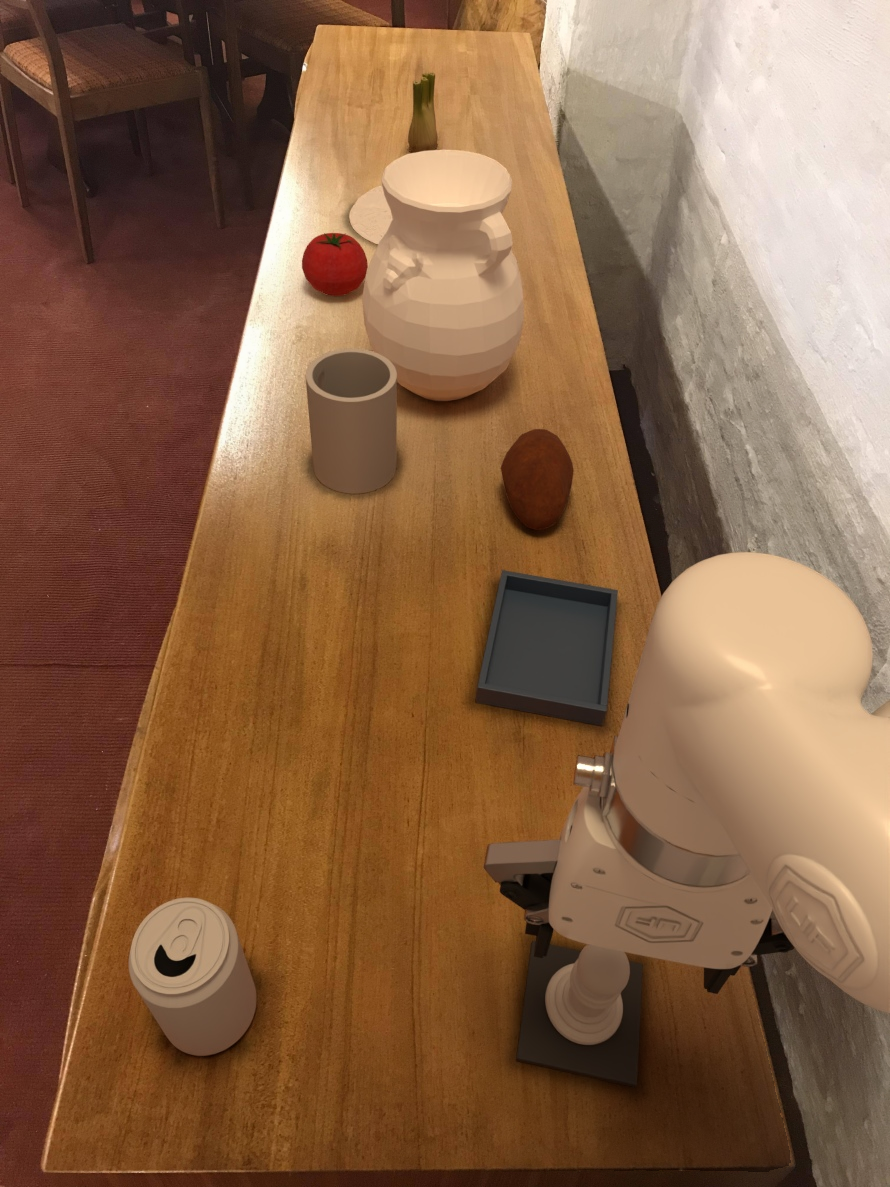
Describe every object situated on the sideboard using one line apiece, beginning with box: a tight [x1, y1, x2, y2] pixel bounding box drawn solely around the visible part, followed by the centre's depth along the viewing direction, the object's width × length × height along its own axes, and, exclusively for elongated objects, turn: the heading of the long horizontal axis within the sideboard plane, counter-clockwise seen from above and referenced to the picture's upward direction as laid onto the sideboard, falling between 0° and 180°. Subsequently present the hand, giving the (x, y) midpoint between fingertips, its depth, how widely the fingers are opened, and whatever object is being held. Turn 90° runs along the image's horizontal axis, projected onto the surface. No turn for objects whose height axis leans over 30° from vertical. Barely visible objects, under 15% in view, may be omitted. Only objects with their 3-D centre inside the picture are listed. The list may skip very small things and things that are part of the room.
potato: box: [500, 428, 574, 531], centre depth 94 cm, size 8×12×8 cm, turn 179°
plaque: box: [348, 184, 393, 245], centre depth 138 cm, size 20×20×2 cm
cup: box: [305, 347, 398, 495], centre depth 95 cm, size 9×9×12 cm
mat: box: [515, 940, 644, 1088], centre depth 62 cm, size 8×8×1 cm
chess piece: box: [545, 944, 630, 1045], centre depth 59 cm, size 5×5×9 cm
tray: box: [475, 569, 619, 727], centre depth 82 cm, size 14×11×2 cm
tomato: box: [301, 232, 369, 297], centre depth 120 cm, size 9×9×8 cm
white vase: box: [361, 149, 525, 402], centre depth 101 cm, size 19×18×25 cm
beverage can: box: [128, 897, 257, 1057], centre depth 57 cm, size 6×6×12 cm
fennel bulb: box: [407, 72, 439, 153], centre depth 150 cm, size 6×5×12 cm
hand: (625, 949), depth 52 cm, fingers open, 9 cm apart
